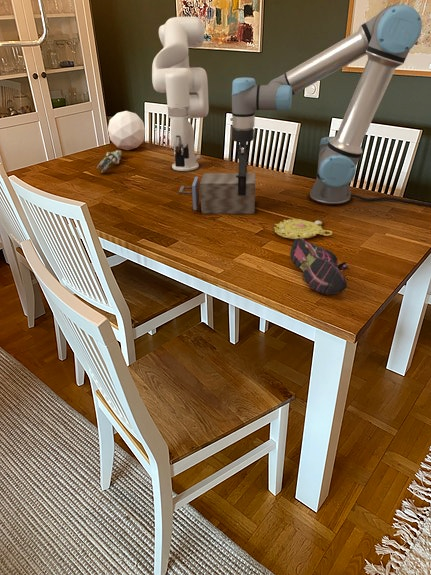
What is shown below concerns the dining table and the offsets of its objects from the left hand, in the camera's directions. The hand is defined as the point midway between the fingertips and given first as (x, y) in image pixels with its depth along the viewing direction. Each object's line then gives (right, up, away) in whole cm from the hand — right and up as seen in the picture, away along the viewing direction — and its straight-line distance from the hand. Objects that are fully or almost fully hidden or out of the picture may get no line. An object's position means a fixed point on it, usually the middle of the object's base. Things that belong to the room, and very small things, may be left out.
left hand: (182, 162), depth 158 cm
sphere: (-35, +30, +81) cm, 93 cm away
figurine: (-39, +14, +56) cm, 70 cm away
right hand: (+22, -9, +3) cm, 24 cm away
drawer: (+10, -14, +8) cm, 19 cm away
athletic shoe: (+41, -42, -37) cm, 69 cm away
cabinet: (+17, -15, +8) cm, 24 cm away
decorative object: (+40, -27, -12) cm, 50 cm away
